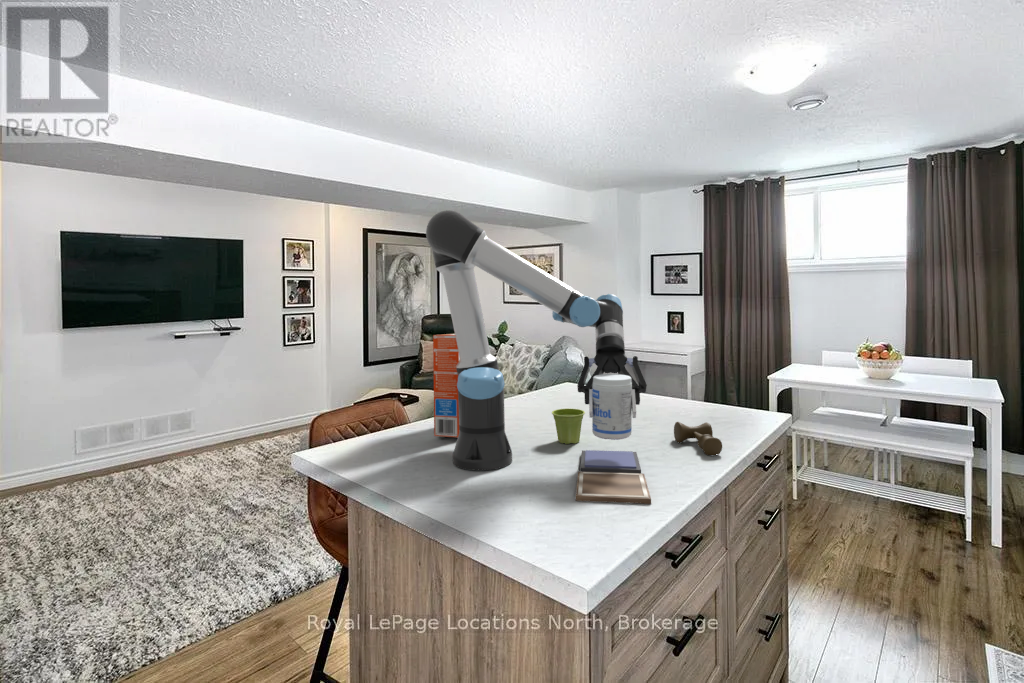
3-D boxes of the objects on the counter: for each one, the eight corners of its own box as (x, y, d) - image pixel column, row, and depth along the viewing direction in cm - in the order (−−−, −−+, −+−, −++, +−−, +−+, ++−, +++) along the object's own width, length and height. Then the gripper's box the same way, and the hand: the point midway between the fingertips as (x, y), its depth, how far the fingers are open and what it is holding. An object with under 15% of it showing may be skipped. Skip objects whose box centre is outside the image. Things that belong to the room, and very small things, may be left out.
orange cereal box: (459, 437, 152) (458, 335, 150) (434, 436, 154) (433, 335, 153) (485, 422, 174) (484, 333, 172) (462, 421, 176) (462, 333, 175)
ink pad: (581, 454, 136) (581, 448, 136) (636, 456, 134) (636, 450, 134) (580, 472, 123) (580, 466, 123) (641, 474, 120) (641, 468, 120)
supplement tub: (585, 436, 127) (584, 377, 126) (604, 428, 135) (603, 372, 133) (621, 443, 121) (620, 381, 120) (639, 433, 129) (638, 375, 127)
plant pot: (576, 448, 143) (576, 417, 142) (546, 443, 148) (546, 413, 147) (590, 439, 151) (590, 410, 150) (561, 435, 156) (561, 407, 155)
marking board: (578, 475, 121) (578, 471, 121) (644, 477, 118) (644, 473, 118) (575, 500, 106) (575, 495, 106) (651, 503, 104) (651, 498, 104)
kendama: (694, 459, 133) (668, 436, 153) (731, 458, 134) (700, 436, 153) (695, 436, 132) (669, 416, 152) (732, 436, 133) (701, 416, 153)
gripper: (651, 351, 140) (659, 423, 125) (568, 352, 143) (566, 422, 129) (653, 333, 134) (661, 406, 120) (567, 334, 137) (565, 406, 123)
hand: (612, 414), depth 124 cm, fingers closed on supplement tub, 9 cm apart
